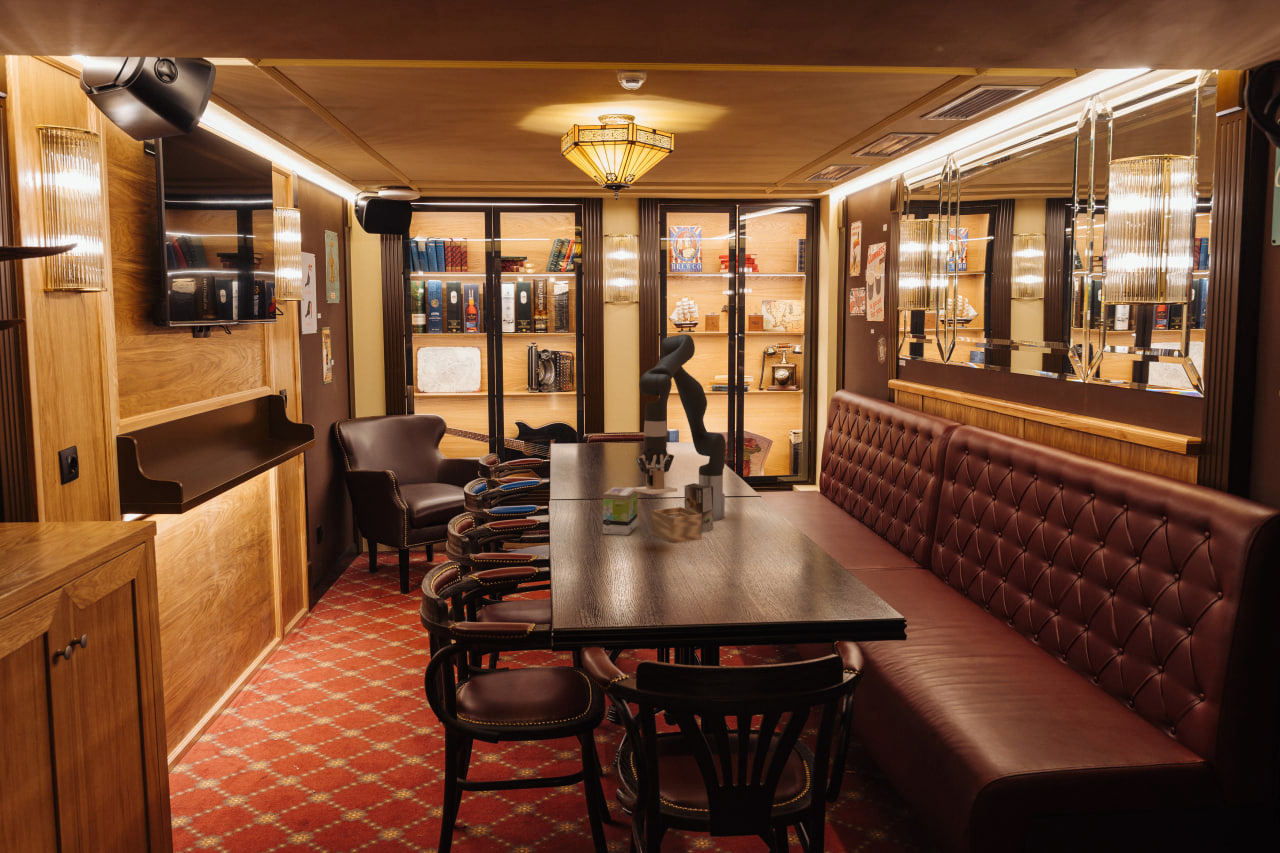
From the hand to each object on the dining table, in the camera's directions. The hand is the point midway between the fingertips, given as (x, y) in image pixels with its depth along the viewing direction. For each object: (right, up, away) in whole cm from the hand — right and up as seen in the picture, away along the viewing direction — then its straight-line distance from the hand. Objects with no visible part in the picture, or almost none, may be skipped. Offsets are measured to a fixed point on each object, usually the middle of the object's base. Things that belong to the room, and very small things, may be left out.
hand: (655, 485), depth 295 cm
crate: (+8, -19, +17) cm, 27 cm away
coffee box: (+16, -18, +29) cm, 38 cm away
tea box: (-12, -18, +27) cm, 34 cm away
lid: (0, -2, 0) cm, 2 cm away
